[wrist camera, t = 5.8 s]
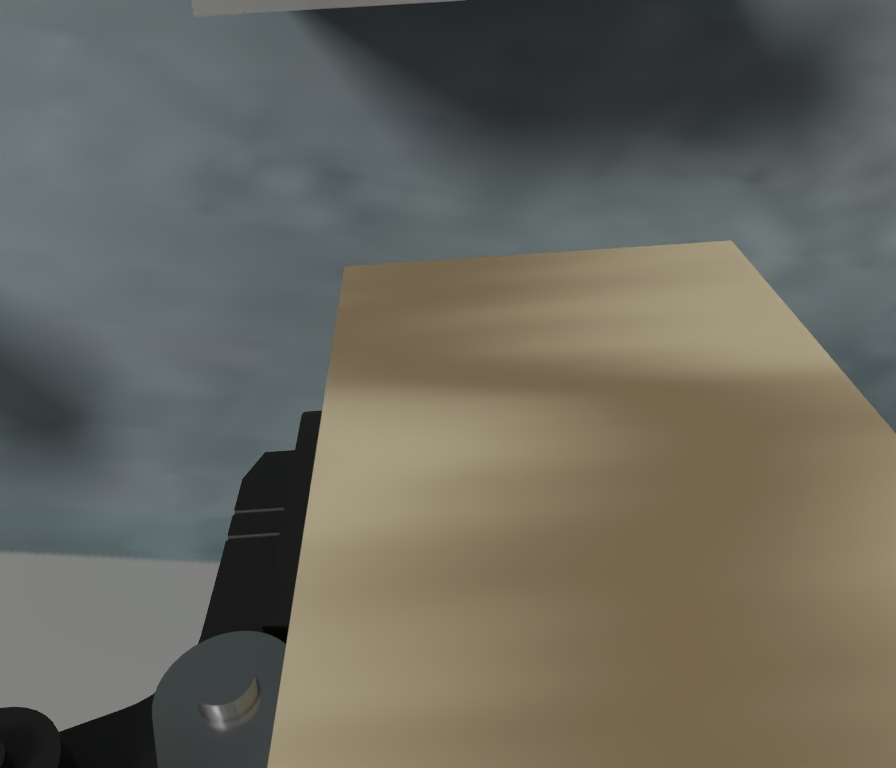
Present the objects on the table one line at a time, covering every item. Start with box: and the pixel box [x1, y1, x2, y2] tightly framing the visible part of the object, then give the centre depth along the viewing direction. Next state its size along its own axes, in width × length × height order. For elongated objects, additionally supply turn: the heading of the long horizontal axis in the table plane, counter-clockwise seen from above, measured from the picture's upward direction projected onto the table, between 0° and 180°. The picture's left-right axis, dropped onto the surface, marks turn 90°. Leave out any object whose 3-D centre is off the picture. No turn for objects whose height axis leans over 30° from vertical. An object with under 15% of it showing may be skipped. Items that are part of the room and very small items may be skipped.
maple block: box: [267, 241, 896, 768], centre depth 9 cm, size 5×5×7 cm
